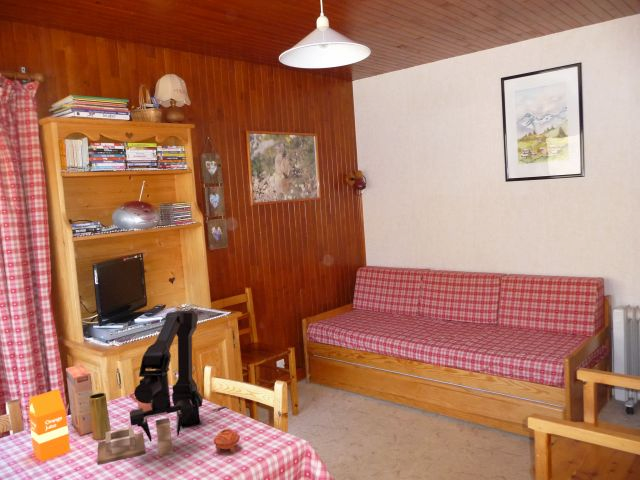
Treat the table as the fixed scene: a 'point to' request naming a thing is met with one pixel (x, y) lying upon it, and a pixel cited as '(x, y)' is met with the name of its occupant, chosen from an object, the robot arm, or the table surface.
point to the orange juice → (48, 425)
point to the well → (120, 445)
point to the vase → (99, 416)
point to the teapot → (141, 405)
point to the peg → (164, 436)
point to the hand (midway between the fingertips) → (164, 437)
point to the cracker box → (80, 398)
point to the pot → (226, 439)
